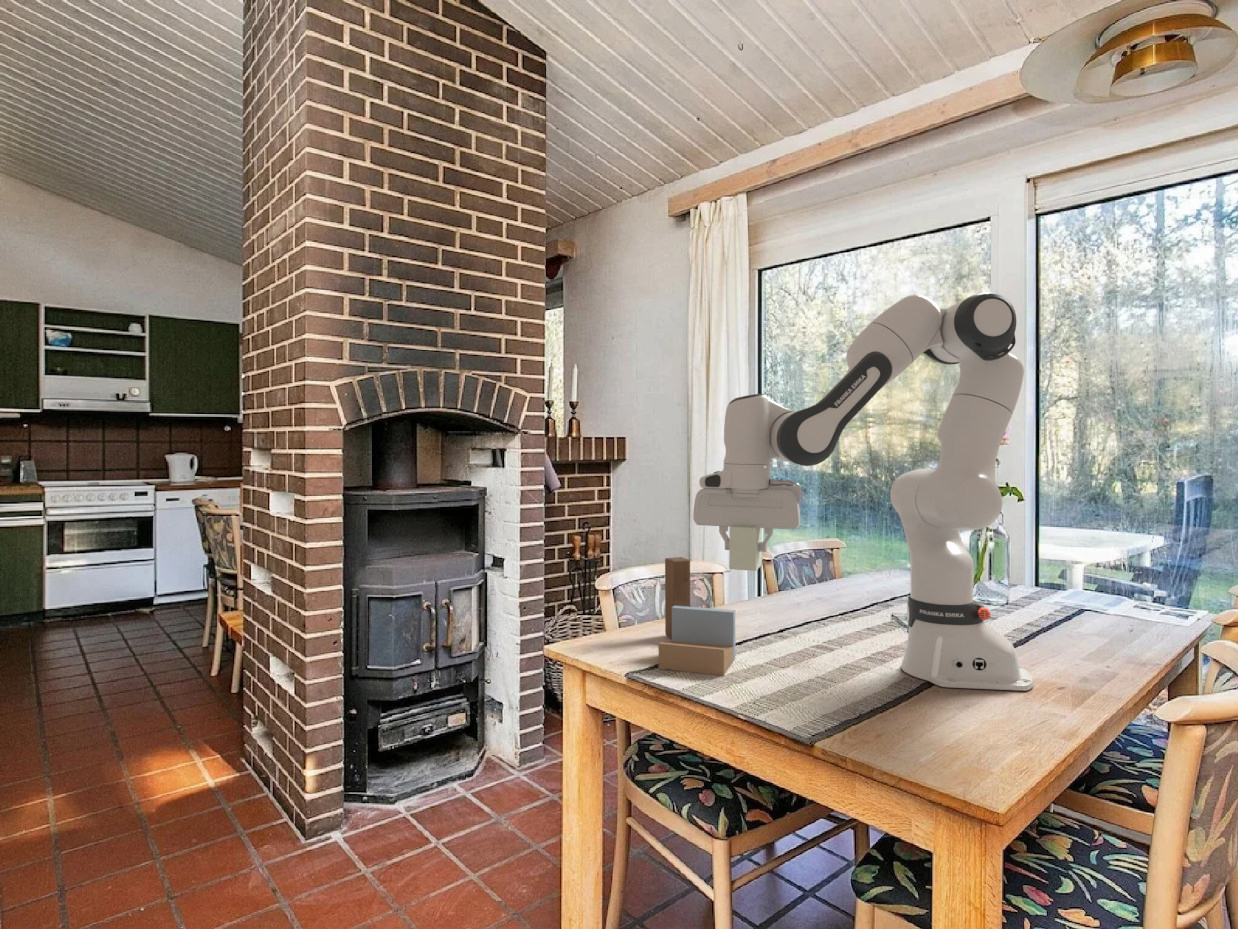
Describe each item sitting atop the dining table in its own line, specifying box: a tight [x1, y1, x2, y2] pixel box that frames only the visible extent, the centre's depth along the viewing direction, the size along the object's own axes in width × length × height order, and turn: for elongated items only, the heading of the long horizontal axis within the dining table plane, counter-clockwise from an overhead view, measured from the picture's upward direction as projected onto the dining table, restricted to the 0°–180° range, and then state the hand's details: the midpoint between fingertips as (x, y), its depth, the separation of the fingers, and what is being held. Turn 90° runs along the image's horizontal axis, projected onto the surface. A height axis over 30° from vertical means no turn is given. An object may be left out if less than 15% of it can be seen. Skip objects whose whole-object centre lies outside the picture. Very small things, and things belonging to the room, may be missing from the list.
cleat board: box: [658, 606, 736, 677], centre depth 145 cm, size 13×12×10 cm
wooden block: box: [664, 556, 692, 640], centre depth 162 cm, size 9×4×18 cm, turn 21°
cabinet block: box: [728, 526, 763, 572], centre depth 139 cm, size 5×7×9 cm
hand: (745, 550), depth 139 cm, fingers closed on cabinet block, 5 cm apart
